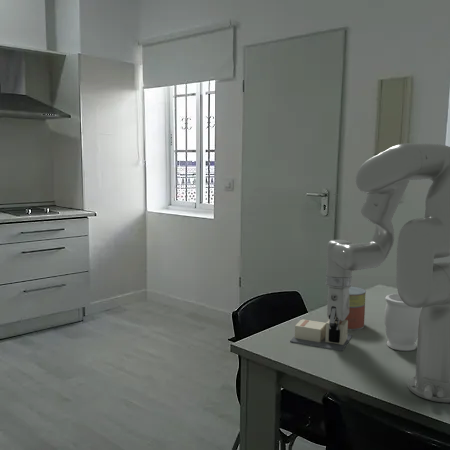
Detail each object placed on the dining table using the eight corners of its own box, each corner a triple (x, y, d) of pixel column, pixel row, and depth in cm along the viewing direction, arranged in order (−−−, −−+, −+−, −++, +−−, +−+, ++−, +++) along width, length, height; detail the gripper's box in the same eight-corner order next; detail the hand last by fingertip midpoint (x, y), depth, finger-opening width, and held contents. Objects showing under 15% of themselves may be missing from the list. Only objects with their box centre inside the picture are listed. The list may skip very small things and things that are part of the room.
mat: (342, 351, 145) (342, 349, 145) (290, 342, 152) (290, 340, 152) (352, 336, 158) (352, 334, 158) (303, 328, 165) (303, 327, 165)
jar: (396, 354, 143) (398, 303, 141) (376, 341, 153) (378, 294, 151) (427, 350, 146) (430, 301, 144) (406, 338, 156) (408, 292, 154)
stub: (343, 344, 149) (343, 325, 148) (325, 342, 151) (326, 322, 150) (347, 339, 154) (347, 320, 153) (329, 336, 156) (330, 317, 155)
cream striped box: (320, 342, 151) (321, 329, 150) (294, 338, 155) (295, 325, 154) (326, 335, 157) (327, 322, 157) (301, 331, 161) (301, 318, 160)
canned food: (367, 322, 172) (368, 288, 170) (360, 331, 162) (361, 296, 160) (335, 317, 177) (336, 284, 175) (326, 326, 167) (327, 291, 165)
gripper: (344, 289, 141) (342, 350, 143) (356, 276, 156) (354, 331, 158) (318, 285, 144) (316, 345, 146) (333, 273, 159) (331, 328, 162)
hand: (336, 338), depth 152 cm, fingers closed on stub, 5 cm apart
